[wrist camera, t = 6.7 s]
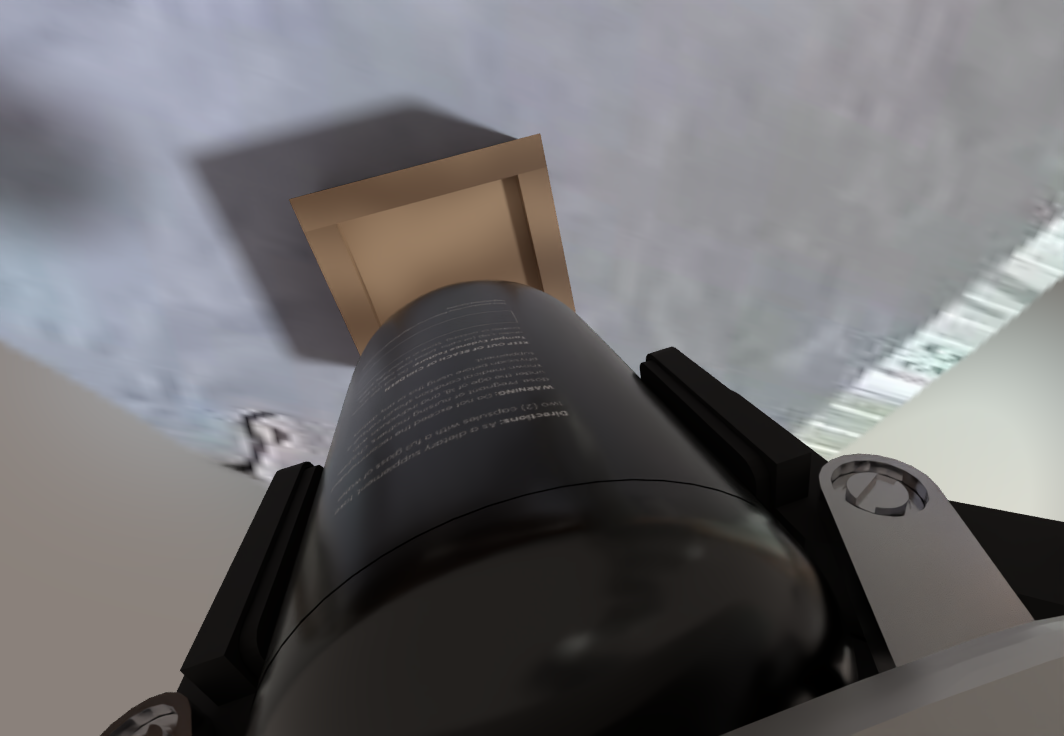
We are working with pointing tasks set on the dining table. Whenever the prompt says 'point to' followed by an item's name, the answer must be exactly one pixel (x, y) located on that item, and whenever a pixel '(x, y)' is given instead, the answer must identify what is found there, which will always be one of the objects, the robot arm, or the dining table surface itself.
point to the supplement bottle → (534, 550)
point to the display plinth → (436, 231)
